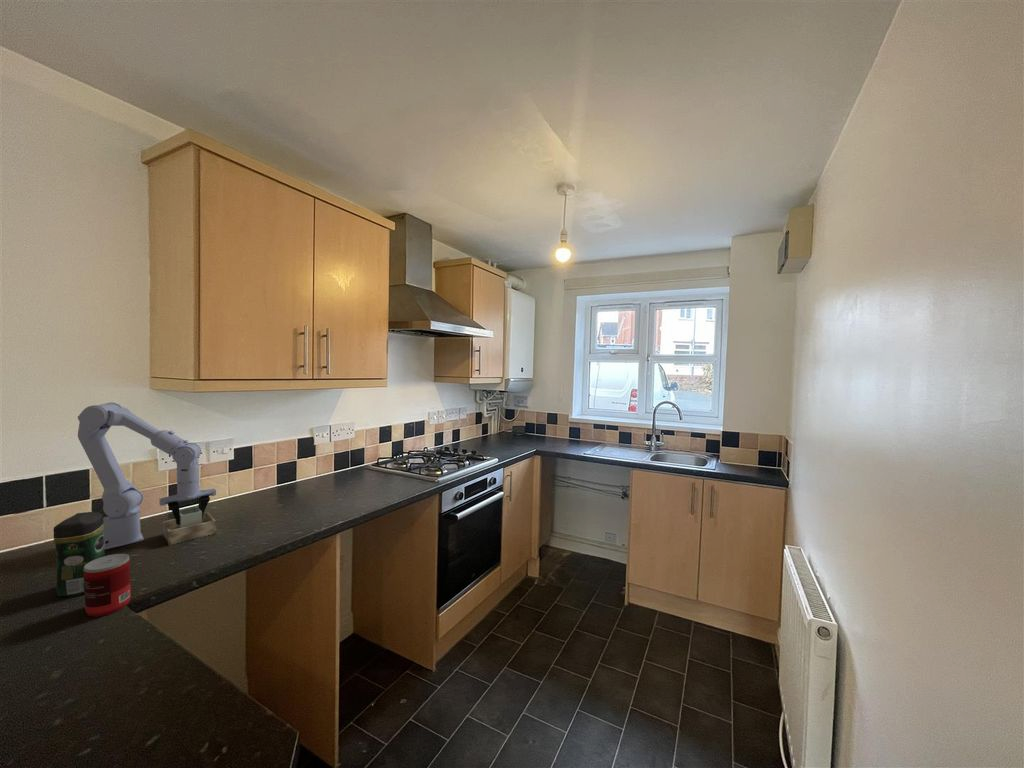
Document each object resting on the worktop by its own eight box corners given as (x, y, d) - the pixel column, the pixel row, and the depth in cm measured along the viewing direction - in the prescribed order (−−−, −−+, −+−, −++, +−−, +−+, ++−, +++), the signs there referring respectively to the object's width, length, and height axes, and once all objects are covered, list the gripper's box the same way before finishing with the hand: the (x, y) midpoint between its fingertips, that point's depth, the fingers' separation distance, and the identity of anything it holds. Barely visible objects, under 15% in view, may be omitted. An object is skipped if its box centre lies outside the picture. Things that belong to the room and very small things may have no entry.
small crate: (181, 531, 131) (180, 515, 131) (177, 525, 136) (176, 510, 136) (202, 526, 135) (201, 511, 135) (197, 520, 140) (197, 506, 140)
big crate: (169, 545, 128) (168, 531, 127) (163, 534, 135) (162, 521, 135) (216, 533, 137) (216, 520, 136) (208, 524, 144) (208, 511, 144)
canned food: (130, 593, 102) (128, 550, 101) (131, 607, 96) (130, 561, 95) (86, 606, 96) (83, 560, 96) (84, 622, 91) (82, 573, 90)
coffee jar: (71, 581, 107) (68, 511, 106) (111, 575, 110) (108, 507, 109) (49, 601, 98) (45, 525, 97) (93, 593, 101) (90, 520, 100)
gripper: (161, 488, 127) (162, 531, 128) (217, 478, 137) (218, 518, 138) (157, 483, 132) (159, 525, 132) (212, 474, 142) (213, 513, 143)
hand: (189, 521), depth 136 cm, fingers closed on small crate, 5 cm apart
